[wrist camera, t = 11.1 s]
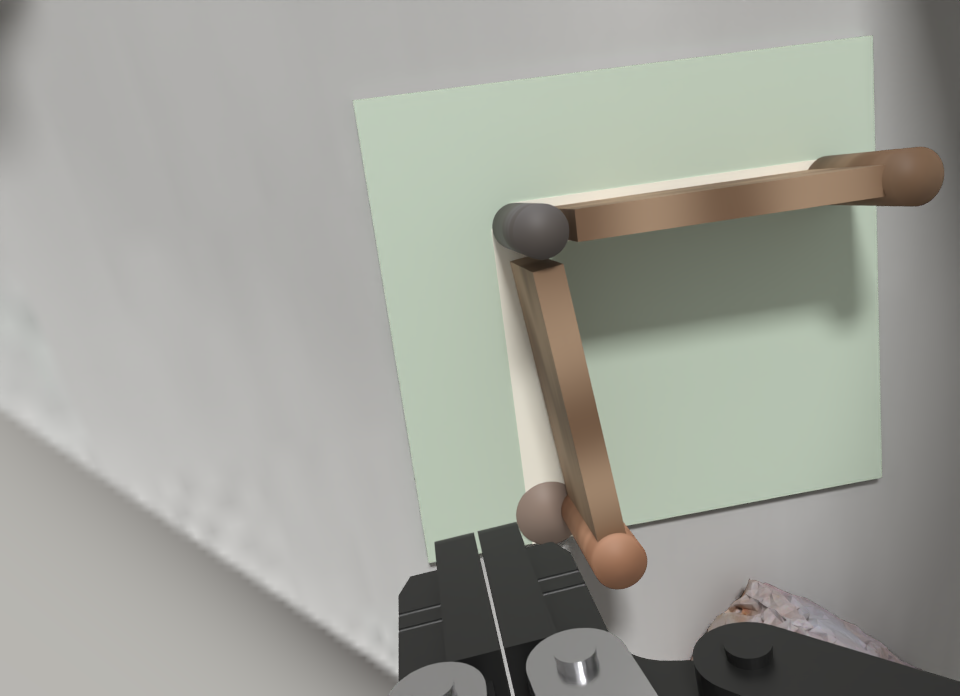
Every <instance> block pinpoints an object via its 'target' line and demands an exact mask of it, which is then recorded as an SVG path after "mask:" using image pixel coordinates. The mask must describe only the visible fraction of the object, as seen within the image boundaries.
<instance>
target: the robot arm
mask: <svg viewBox="0 0 960 696" xmlns="http://www.w3.org/2000/svg"><path fill="white" fill-rule="evenodd" d="M477 532H478V537H479V541H480V545H481V550H482V554H483V559H484V563H485V567H486V572H487V576H488V580H489V585H490V589H491V594H492V598H493V602H494V607H495V611H496V616H497V620H498V624H499V629H500V633H501V637H502V642H503V646H504V650H505V655H506V659H507V663H508V667H509V672H510V676H511V680H512V685H513V689H514V693H515V696H960V682H959V681H956V680H952V679H949V678H946V677H942V676H939V675H936V674H932V673H929V672H926V671H922V670H919V669H916V668H912V667H909V666H906V665H903V664H899V663H896V662H893V661H889V660H886V659H883V658H879V657H876V656H873V655H869V654H866V653H863V652H859V651H856V650H853V649H849V648H846V647H843V646H840V645H836V644H833V643H830V642H826V641H823V640H820V639H816V638H813V637H810V636H806V635H803V634H800V633H796V632H793V631H790V630H786V629H783V628H780V627H776V626H773V625H769V624H765V623H758V622H736V623H731V624H726V625H723V626H719V627H717V628H715V629H712V630H710V631H709V632H707V633H706V634H704V635H703V636H702V637H701V638H700V639H699V640H698V642H697V643H696V645H695V647H694V649H693V660H684V661H658V660H650V659H645V658H641V657H638V656H635V655H633V654H631V653H630V652H629V650H628V648H627V647H626V645H625V644H624V643H623V642H622V640H621V639H619V638H618V637H617V636H615V635H613V634H611V633H609V632H608V630H607V628H606V626H605V624H604V622H603V620H602V618H601V615H600V613H599V611H598V609H597V607H596V605H595V603H594V601H593V599H592V597H591V595H590V593H589V590H588V588H587V586H585V582H584V580H583V578H582V576H581V574H580V572H579V571H578V568H577V566H576V563H575V561H574V559H573V557H572V555H571V553H570V552H568V551H567V550H565V549H563V548H562V547H560V546H559V545H557V544H555V543H554V542H548V543H544V544H540V545H536V546H532V547H528V548H526V546H525V544H524V541H523V538H522V535H521V533H520V530H519V527H518V524H517V522H513V523H509V524H505V525H501V526H497V527H492V528H488V529H484V530H480V531H477ZM434 545H435V555H436V564H437V570H435V571H431V572H427V573H423V574H419V575H415V576H411V577H410V578H409V580H408V581H407V583H406V585H405V586H404V588H403V589H402V591H401V593H400V594H399V682H398V683H397V684H396V685H395V686H394V687H393V688H392V690H391V691H390V693H389V695H388V696H511V694H510V689H509V685H508V680H507V676H506V671H505V667H504V663H503V658H502V654H501V649H500V645H499V640H498V636H497V631H496V627H495V623H494V618H493V614H492V610H491V605H490V601H489V596H488V592H487V588H486V583H485V579H484V575H483V570H482V566H481V562H480V557H479V553H478V549H477V544H476V540H475V536H474V532H473V533H468V534H464V535H460V536H456V537H452V538H448V539H444V540H440V541H436V542H434Z"/></svg>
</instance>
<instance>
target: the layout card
mask: <svg viewBox="0 0 960 696" xmlns="http://www.w3.org/2000/svg"><path fill="white" fill-rule="evenodd" d="M353 105H354V111H355V117H356V123H357V129H358V135H359V141H360V147H361V153H362V160H363V166H364V172H365V178H366V184H367V190H368V196H369V202H370V208H371V214H372V220H373V227H374V233H375V239H376V245H377V251H378V257H379V263H380V269H381V275H382V281H383V287H384V294H385V300H386V306H387V312H388V318H389V324H390V330H391V336H392V342H393V348H394V354H395V361H396V367H397V373H398V379H399V385H400V391H401V397H402V403H403V409H404V415H405V421H406V428H407V434H408V440H409V446H410V452H411V458H412V464H413V470H414V476H415V482H416V488H417V495H418V501H419V507H420V513H421V519H422V525H423V531H424V537H425V543H426V549H427V555H428V562H429V563H433V562H436V555H435V545H434V542H436V541H440V540H444V539H448V538H452V537H456V536H460V535H464V534H468V533H473V532H474V536H475V540H476V544H477V549H478V553H479V554H480V553H482V550H481V545H480V541H479V537H478V532H477V531H480V530H484V529H488V528H492V527H497V526H501V525H505V524H509V523H513V522H517V524H518V527H519V530H520V533H521V535H522V538H523V541H524V544H525V545H528V544H536V543H537V544H544V543H548V542H554V543H555V544H557V543H560V542H562V541H564V540H566V539H567V538H569V537H573V535H572V533H571V532H570V530H569V528H568V526H567V524H566V523H565V521H564V519H563V517H562V513H561V508H562V503H563V501H564V499H565V497H566V496H567V495H568V494H567V490H566V486H565V482H564V478H563V474H562V470H561V466H560V462H559V458H558V453H557V449H556V445H555V441H554V437H553V433H552V429H551V425H550V421H549V417H548V413H547V409H546V405H545V401H544V397H543V393H542V389H541V385H540V381H539V377H538V373H537V369H536V365H535V361H534V357H533V353H532V349H531V345H530V341H529V337H528V333H527V329H526V325H525V321H524V317H523V313H522V309H521V305H520V301H519V297H518V293H517V289H516V285H515V281H514V277H513V273H512V268H511V264H510V261H513V260H517V259H520V258H524V257H527V256H526V255H523V254H521V253H518V252H515V251H513V250H510V249H508V248H505V247H503V246H502V245H501V244H500V243H499V242H498V241H497V240H496V238H495V236H494V234H493V230H492V223H493V219H494V216H495V214H496V213H497V212H498V210H499V209H500V208H501V207H503V206H505V205H507V204H509V203H543V204H550V205H553V206H559V205H566V204H573V203H580V202H587V201H594V200H601V199H608V198H614V197H621V196H628V195H635V194H642V193H649V192H656V191H663V190H670V189H677V188H684V187H691V186H698V185H705V184H712V183H719V182H726V181H733V180H740V179H747V178H754V177H761V176H768V175H775V174H782V173H789V172H796V171H803V170H808V169H809V167H810V166H811V165H812V163H813V162H815V161H816V160H817V159H818V158H820V157H823V156H830V155H840V154H851V153H861V152H872V151H875V120H874V73H873V35H872V36H864V37H856V38H848V39H840V40H832V41H824V42H816V43H808V44H800V45H792V46H784V47H776V48H768V49H760V50H752V51H744V52H736V53H728V54H720V55H712V56H704V57H696V58H688V59H680V60H672V61H664V62H656V63H648V64H640V65H632V66H624V67H616V68H608V69H600V70H592V71H584V72H576V73H568V74H560V75H552V76H544V77H536V78H528V79H520V80H512V81H504V82H496V83H488V84H480V85H472V86H464V87H456V88H448V89H440V90H432V91H424V92H416V93H408V94H400V95H392V96H384V97H376V98H368V99H360V100H353ZM549 259H551V260H554V261H557V262H559V263H562V264H564V268H565V273H566V277H567V281H568V286H569V290H570V294H571V299H572V303H573V307H574V311H575V316H576V320H577V324H578V329H579V333H580V337H581V342H582V346H583V350H584V355H585V359H586V363H587V367H588V372H589V376H590V380H591V385H592V389H593V393H594V398H595V402H596V406H597V410H598V415H599V419H600V423H601V428H602V432H603V436H604V441H605V445H606V449H607V454H608V458H609V462H610V466H611V471H612V475H613V479H614V484H615V488H616V492H617V497H618V501H619V505H620V510H621V514H622V518H623V522H624V523H625V525H626V526H628V525H634V524H639V523H644V522H650V521H655V520H660V519H665V518H671V517H676V516H681V515H687V514H692V513H697V512H703V511H708V510H713V509H718V508H724V507H729V506H734V505H740V504H745V503H750V502H755V501H761V500H766V499H771V498H777V497H782V496H787V495H793V494H798V493H803V492H808V491H814V490H819V489H824V488H830V487H835V486H840V485H845V484H851V483H856V482H861V481H867V480H872V479H877V478H882V453H881V405H880V358H879V310H878V263H877V215H876V206H850V205H824V206H818V207H811V208H804V209H798V210H791V211H784V212H777V213H771V214H764V215H757V216H750V217H744V218H737V219H730V220H723V221H717V222H710V223H703V224H696V225H690V226H683V227H676V228H670V229H663V230H656V231H649V232H643V233H636V234H629V235H622V236H616V237H609V238H602V239H595V240H589V241H582V242H575V241H571V240H568V241H567V243H566V245H565V247H564V248H563V250H562V251H561V252H560V253H559V254H557V255H556V256H554V257H552V258H549Z"/></svg>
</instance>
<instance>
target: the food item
mask: <svg viewBox="0 0 960 696" xmlns="http://www.w3.org/2000/svg"><path fill="white" fill-rule="evenodd" d="M736 622H758V623H765V624H769V625H773V626H776V627H780V628H783V629H786V630H790V631H793V632H796V633H800V634H803V635H806V636H810V637H813V638H816V639H820V640H823V641H826V642H830V643H833V644H836V645H840V646H843V647H846V648H849V649H853V650H856V651H859V652H863V653H866V654H869V655H873V656H876V657H879V658H883V659H886V660H889V661H893V662H896V663H899V664H903V665H906V666H909V667H912V668H916V667H914V666H912V665H910V664H908V663H906V662H904V661H902V660H900V659H899V658H898V657H897V656H895V655H894V654H893V653H891V652H890V651H889V650H888V648H887V647H886V646H885V645H883V644H882V643H881V642H880V641H878V640H876V639H874V638H873V637H871V636H870V635H866V634H865V633H864V632H863V631H862V630H861V629H860V628H859V627H858V626H856V625H854V624H851V623H849V622H846V621H844V620H841V619H840V618H838V617H837V616H835V615H834V614H832V613H831V612H829V611H828V610H826V609H824V608H822V607H821V606H819V605H817V604H816V603H814V602H812V601H810V600H809V599H807V598H804V597H800V596H796V595H793V594H790V593H788V592H785V591H783V590H781V589H778V588H776V587H774V586H772V585H770V584H768V583H761V582H758V581H756V580H750V579H749V581H748V585H747V587H746V589H745V591H744V593H743V595H742V597H741V598H739V599H738V600H736V601H734V602H733V603H732V605H731V606H730V607H729V608H728V610H727V611H726V612H725V613H723V614H721V615H719V616H717V617H716V618H715V620H714V621H713V623H712V624H711V626H710V627H709V629H708V632H709V631H710V630H712V629H715V628H717V627H719V626H723V625H726V624H731V623H736ZM691 660H693V657H692V658H691ZM916 669H919V668H916ZM919 670H921V669H919ZM922 671H923V670H922Z"/></svg>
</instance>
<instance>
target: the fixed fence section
mask: <svg viewBox="0 0 960 696" xmlns="http://www.w3.org/2000/svg"><path fill="white" fill-rule="evenodd" d="M943 179H944V167H943V163H942V161H941V159H940V157H939V156H938V155H937V153H935V152H934V151H933V150H931V149H929V148H926V147H913V148H903V149H893V150H882V151H872V152H861V153H851V154H840V155H830V156H823V157H820V158H818V159H817V160H816V161H815V162H813V163H812V165H811V166H810V167H809V169H808V170H803V171H796V172H789V173H782V174H775V175H768V176H761V177H754V178H747V179H740V180H733V181H726V182H719V183H712V184H705V185H698V186H691V187H684V188H677V189H670V190H663V191H656V192H649V193H642V194H635V195H628V196H621V197H614V198H608V199H601V200H594V201H587V202H580V203H573V204H566V205H559V206H555V207H557V208H558V209H559V210H560V211H562V213H563V214H564V215H565V217H566V219H567V221H568V224H569V238H568V240H571V241H575V242H582V241H589V240H595V239H602V238H609V237H616V236H622V235H629V234H636V233H643V232H649V231H656V230H663V229H670V228H676V227H683V226H690V225H696V224H703V223H710V222H717V221H723V220H730V219H737V218H744V217H750V216H757V215H764V214H771V213H777V212H784V211H791V210H798V209H804V208H811V207H818V206H824V205H850V206H921V205H924V204H926V203H928V202H929V201H931V200H932V199H933V198H934V197H935V196H936V195H937V193H938V192H939V190H940V188H941V186H942V183H943Z"/></svg>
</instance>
